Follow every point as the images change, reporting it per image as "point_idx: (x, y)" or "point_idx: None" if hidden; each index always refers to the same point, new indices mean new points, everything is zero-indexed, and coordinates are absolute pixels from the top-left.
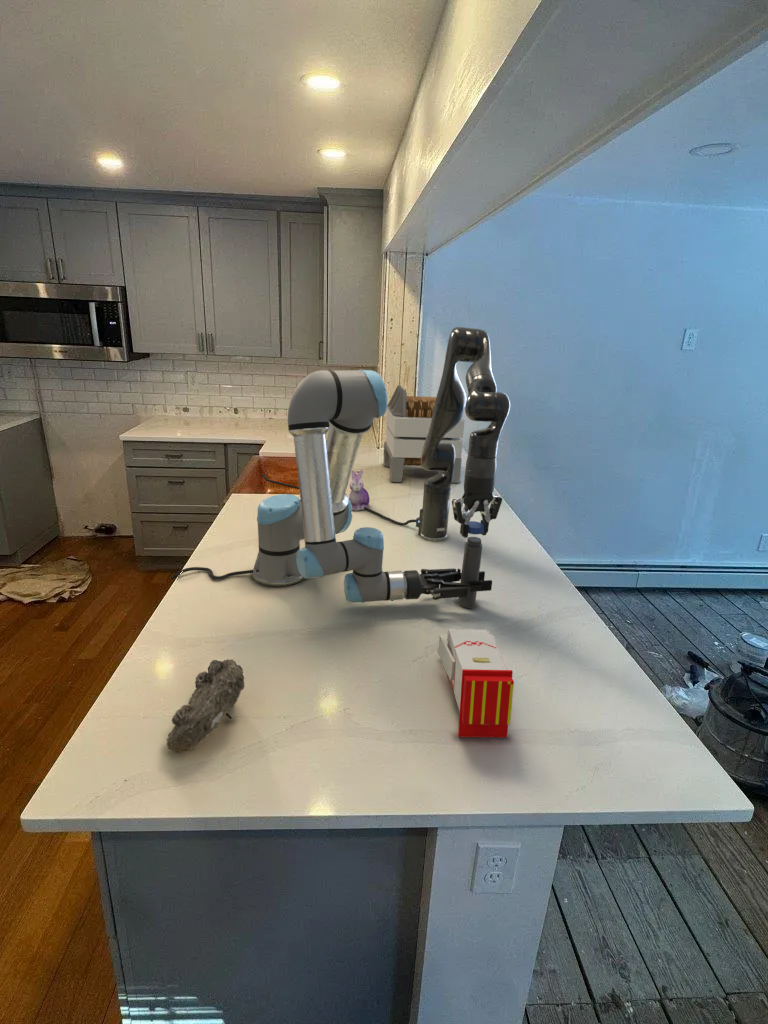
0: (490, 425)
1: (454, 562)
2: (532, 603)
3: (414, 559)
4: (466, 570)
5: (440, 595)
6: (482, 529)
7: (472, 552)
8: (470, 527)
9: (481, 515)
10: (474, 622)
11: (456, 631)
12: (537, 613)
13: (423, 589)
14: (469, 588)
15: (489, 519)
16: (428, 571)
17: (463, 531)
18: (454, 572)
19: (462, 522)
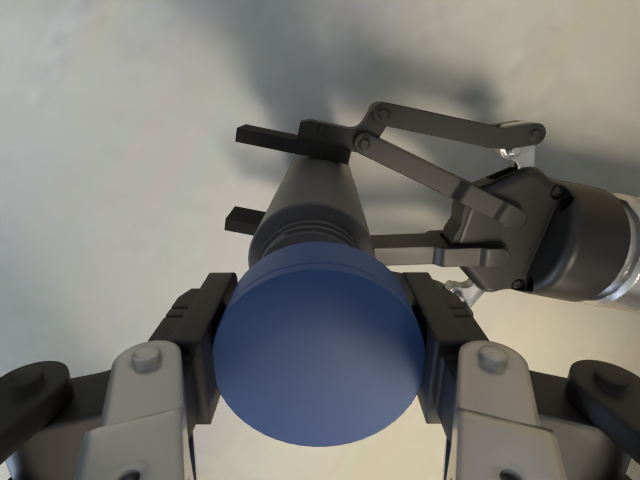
0: None
1: (220, 415)
2: (80, 98)
3: (330, 458)
4: (355, 191)
5: (499, 126)
6: (273, 268)
7: (349, 203)
8: (412, 315)
9: (196, 471)
10: (362, 44)
11: None
12: (94, 21)
13: (552, 179)
14: (358, 126)
15: (129, 364)
16: None
17: (463, 311)
18: None
19: (539, 379)
